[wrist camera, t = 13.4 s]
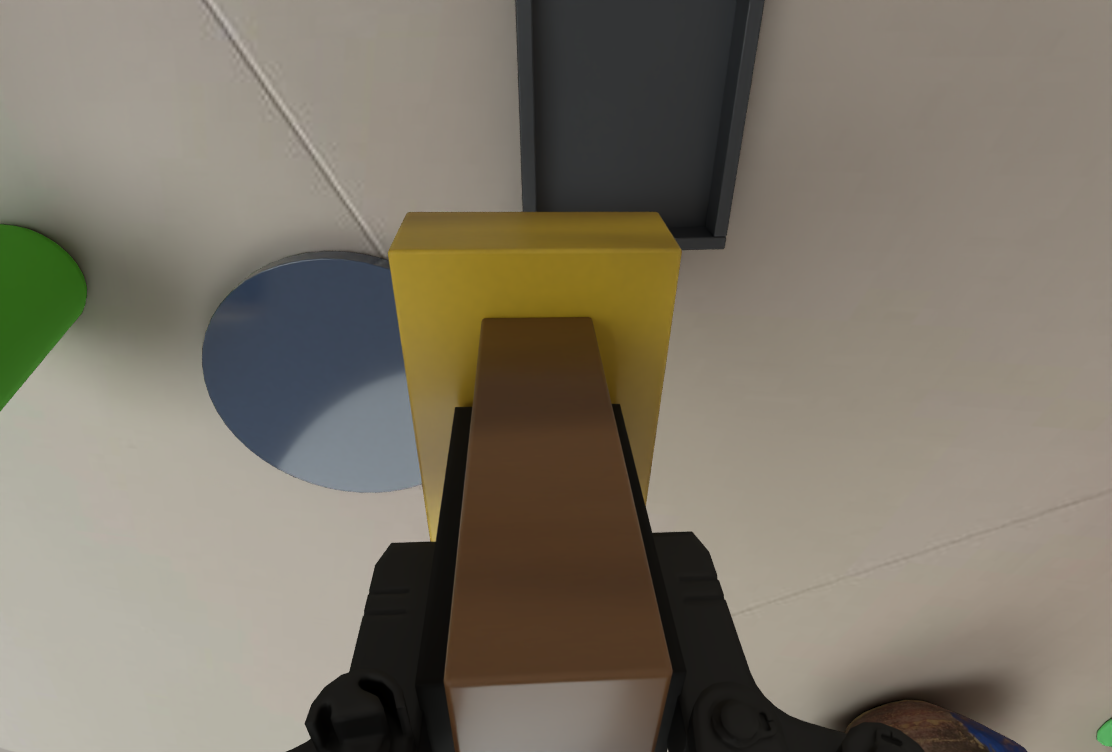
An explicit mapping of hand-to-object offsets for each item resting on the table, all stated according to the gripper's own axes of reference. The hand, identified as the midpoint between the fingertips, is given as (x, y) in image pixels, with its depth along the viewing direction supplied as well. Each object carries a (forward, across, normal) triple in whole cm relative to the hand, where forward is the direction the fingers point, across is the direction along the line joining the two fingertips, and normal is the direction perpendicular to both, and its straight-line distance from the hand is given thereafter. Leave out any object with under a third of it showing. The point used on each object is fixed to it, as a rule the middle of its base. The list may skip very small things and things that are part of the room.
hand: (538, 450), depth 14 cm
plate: (+16, -9, -9) cm, 21 cm away
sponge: (+3, 0, +1) cm, 3 cm away
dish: (+16, +4, +6) cm, 18 cm away
